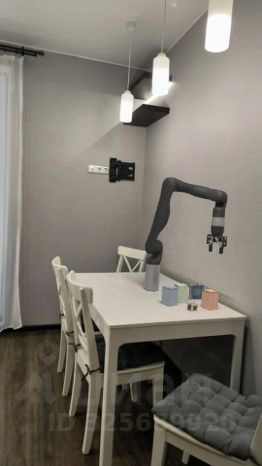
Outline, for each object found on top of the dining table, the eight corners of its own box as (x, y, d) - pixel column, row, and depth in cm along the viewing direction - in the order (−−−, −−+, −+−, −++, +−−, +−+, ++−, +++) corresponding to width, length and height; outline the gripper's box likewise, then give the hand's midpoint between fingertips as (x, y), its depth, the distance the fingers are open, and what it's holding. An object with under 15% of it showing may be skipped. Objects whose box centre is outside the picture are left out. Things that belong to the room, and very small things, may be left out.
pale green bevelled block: (173, 299, 191) (174, 283, 190) (183, 299, 193) (184, 283, 192) (177, 303, 185) (178, 286, 184) (187, 303, 186) (188, 286, 186)
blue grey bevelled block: (161, 303, 182) (162, 286, 181) (169, 302, 186) (170, 285, 185) (169, 306, 177) (170, 288, 176) (177, 305, 181) (178, 287, 180)
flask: (189, 299, 194) (190, 282, 193) (187, 298, 197) (188, 281, 196) (203, 299, 196) (204, 282, 196) (201, 298, 199) (202, 281, 199)
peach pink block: (200, 307, 180) (202, 289, 179) (209, 306, 183) (211, 288, 182) (208, 310, 174) (210, 292, 174) (217, 309, 177) (219, 291, 177)
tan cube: (186, 309, 174) (187, 302, 173) (192, 309, 176) (193, 301, 175) (191, 312, 170) (192, 304, 170) (197, 311, 172) (198, 304, 172)
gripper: (204, 224, 190) (202, 251, 191) (221, 225, 177) (219, 254, 178) (214, 224, 193) (211, 251, 194) (231, 226, 181) (229, 254, 182)
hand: (215, 252), depth 186 cm, fingers open, 8 cm apart
